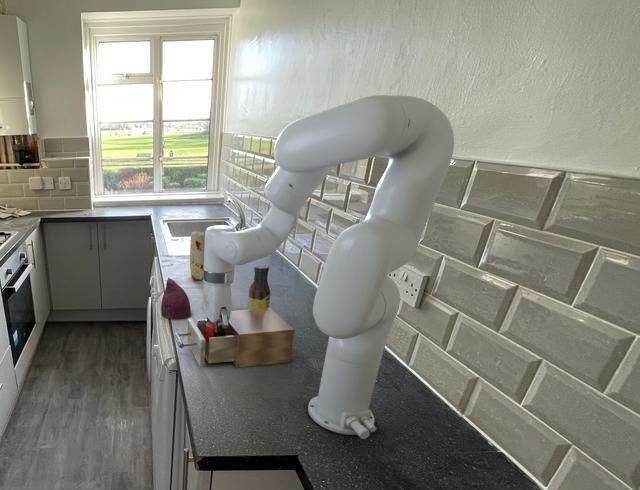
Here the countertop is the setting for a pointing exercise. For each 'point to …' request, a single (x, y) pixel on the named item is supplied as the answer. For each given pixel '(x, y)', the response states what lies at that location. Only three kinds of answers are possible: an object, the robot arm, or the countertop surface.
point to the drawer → (212, 351)
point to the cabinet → (261, 337)
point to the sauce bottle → (259, 289)
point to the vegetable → (175, 302)
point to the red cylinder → (210, 330)
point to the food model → (197, 255)
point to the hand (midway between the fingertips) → (215, 338)
